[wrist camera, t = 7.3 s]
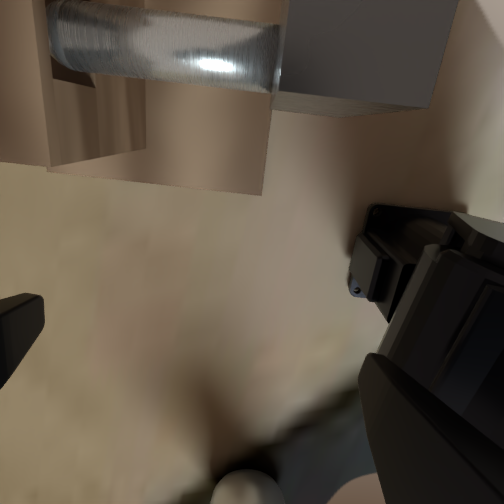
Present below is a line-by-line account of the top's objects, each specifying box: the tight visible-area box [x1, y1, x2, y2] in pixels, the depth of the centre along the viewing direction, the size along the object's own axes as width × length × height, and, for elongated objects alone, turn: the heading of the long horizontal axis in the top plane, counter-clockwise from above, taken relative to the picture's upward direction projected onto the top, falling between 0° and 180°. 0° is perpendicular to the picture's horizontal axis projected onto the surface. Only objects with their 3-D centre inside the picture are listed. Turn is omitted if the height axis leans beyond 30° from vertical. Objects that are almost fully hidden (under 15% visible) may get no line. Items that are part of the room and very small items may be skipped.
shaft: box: [45, 0, 459, 118], centre depth 8 cm, size 10×3×8 cm, turn 84°
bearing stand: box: [0, 0, 282, 196], centre depth 14 cm, size 13×12×10 cm
